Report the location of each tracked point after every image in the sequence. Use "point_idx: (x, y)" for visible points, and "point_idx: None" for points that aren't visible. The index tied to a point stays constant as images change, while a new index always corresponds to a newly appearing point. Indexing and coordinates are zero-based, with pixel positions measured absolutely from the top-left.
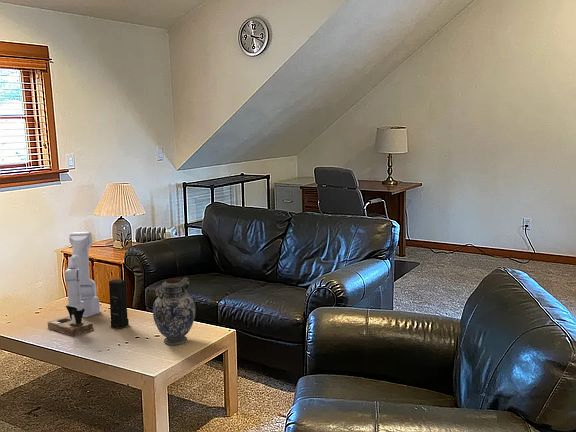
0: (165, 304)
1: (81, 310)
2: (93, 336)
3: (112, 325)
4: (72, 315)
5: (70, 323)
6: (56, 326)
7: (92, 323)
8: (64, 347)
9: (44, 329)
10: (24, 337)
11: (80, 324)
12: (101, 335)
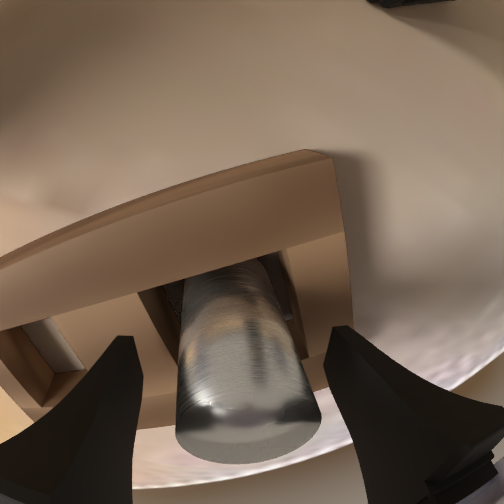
0: None
1: (487, 450)
2: (453, 225)
3: (408, 3)
4: (269, 459)
5: (154, 361)
6: None
7: (330, 160)
8: (437, 381)
9: None
10: (165, 476)
11: (275, 299)
12: (474, 173)
